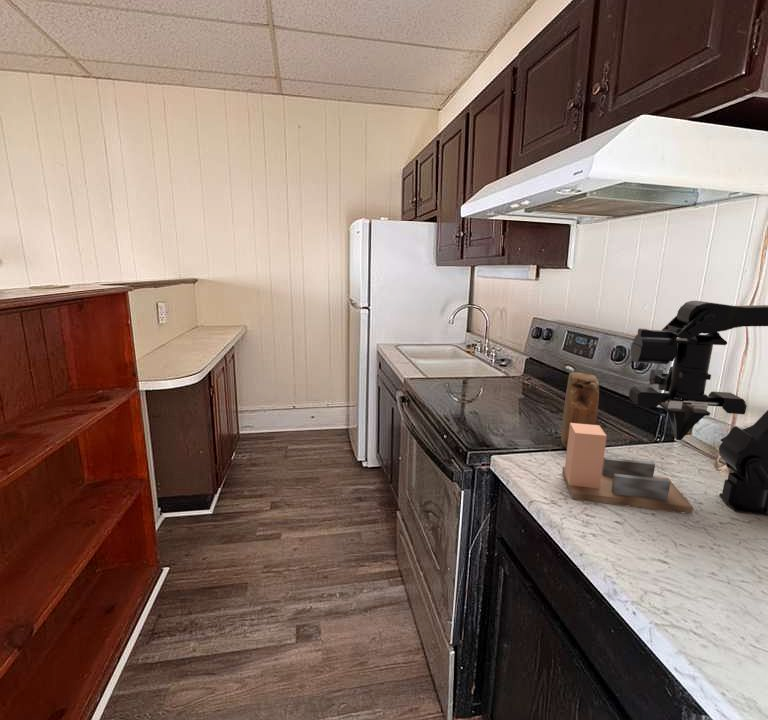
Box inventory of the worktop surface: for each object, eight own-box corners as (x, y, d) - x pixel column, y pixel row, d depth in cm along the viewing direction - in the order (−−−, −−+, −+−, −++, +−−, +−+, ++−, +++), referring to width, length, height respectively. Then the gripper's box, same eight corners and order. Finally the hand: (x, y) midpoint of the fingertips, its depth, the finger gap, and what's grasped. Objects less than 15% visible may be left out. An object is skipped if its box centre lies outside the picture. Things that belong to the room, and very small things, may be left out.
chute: (666, 484, 94) (670, 461, 93) (691, 513, 83) (696, 488, 82) (562, 472, 99) (564, 450, 98) (572, 498, 88) (575, 474, 87)
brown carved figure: (559, 437, 119) (567, 369, 115) (588, 441, 117) (597, 372, 112) (562, 453, 109) (570, 379, 105) (593, 458, 107) (603, 382, 102)
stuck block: (592, 475, 95) (599, 425, 92) (599, 488, 89) (606, 435, 86) (564, 472, 96) (569, 422, 93) (569, 485, 90) (575, 432, 88)
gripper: (723, 359, 88) (709, 429, 92) (625, 354, 93) (616, 421, 96) (755, 372, 78) (739, 450, 81) (643, 366, 82) (632, 440, 85)
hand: (677, 439), depth 86 cm, fingers closed
